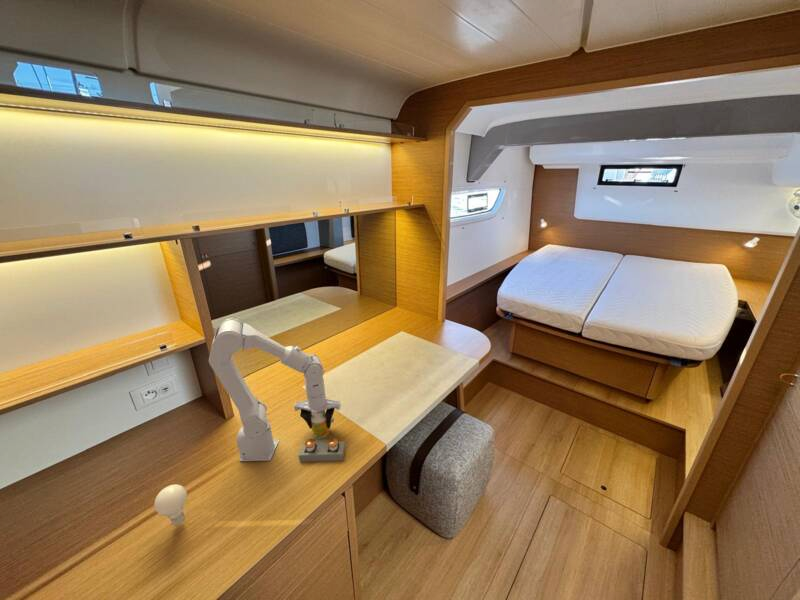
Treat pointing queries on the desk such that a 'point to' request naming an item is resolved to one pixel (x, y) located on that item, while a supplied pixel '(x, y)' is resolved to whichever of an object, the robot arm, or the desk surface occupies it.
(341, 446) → the housing
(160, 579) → the desk surface
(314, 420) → the supplement bottle
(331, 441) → the plunger
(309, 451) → the plunger
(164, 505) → the lightbulb
